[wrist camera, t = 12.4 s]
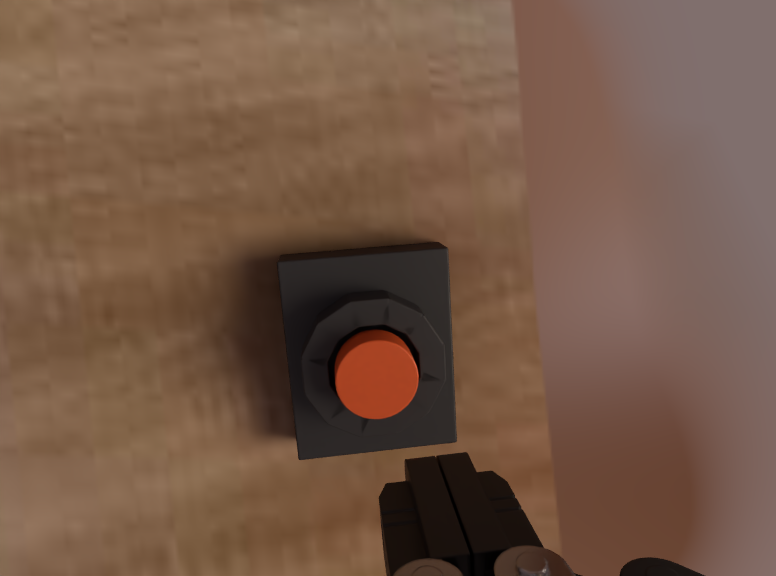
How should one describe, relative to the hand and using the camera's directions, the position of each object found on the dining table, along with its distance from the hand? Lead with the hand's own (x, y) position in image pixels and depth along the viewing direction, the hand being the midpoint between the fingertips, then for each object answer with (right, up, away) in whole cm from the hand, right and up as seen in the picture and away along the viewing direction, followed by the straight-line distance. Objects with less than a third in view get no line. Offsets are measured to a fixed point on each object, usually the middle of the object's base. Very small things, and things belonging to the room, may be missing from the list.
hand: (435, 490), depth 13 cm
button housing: (-2, +2, +16) cm, 16 cm away
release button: (-2, +1, +12) cm, 13 cm away
